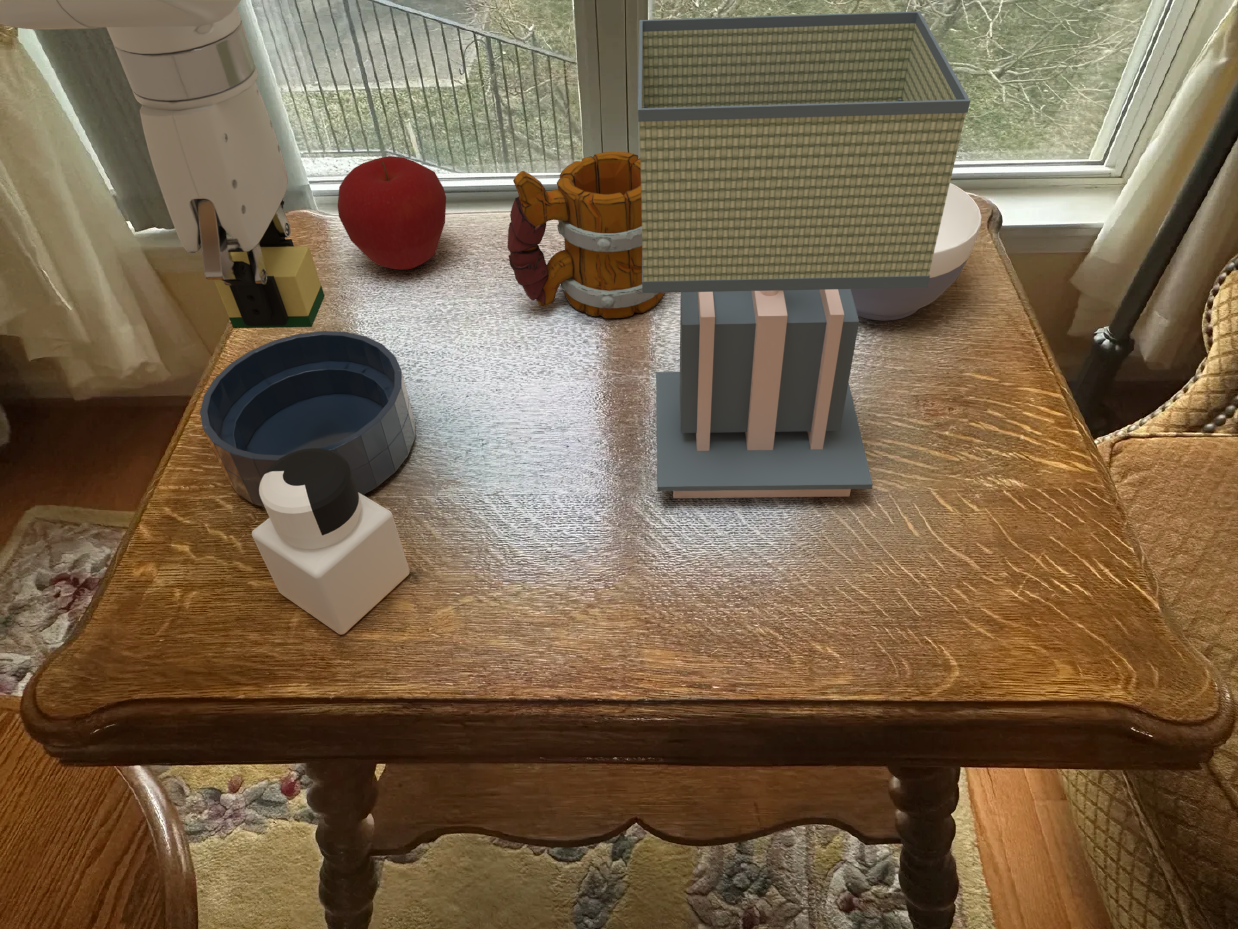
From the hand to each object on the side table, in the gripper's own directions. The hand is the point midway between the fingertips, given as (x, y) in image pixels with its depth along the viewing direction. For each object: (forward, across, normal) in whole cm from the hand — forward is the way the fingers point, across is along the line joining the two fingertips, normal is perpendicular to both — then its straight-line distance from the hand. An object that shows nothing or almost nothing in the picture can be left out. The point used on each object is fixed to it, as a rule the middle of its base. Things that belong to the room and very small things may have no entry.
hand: (275, 302), depth 71 cm
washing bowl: (+15, 0, 0) cm, 15 cm away
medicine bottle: (+15, +15, +5) cm, 22 cm away
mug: (+16, -22, +22) cm, 35 cm away
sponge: (+1, 0, 0) cm, 1 cm away
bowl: (+16, -21, +51) cm, 57 cm away
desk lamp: (+15, 0, +37) cm, 40 cm away
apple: (+16, -29, +2) cm, 33 cm away
